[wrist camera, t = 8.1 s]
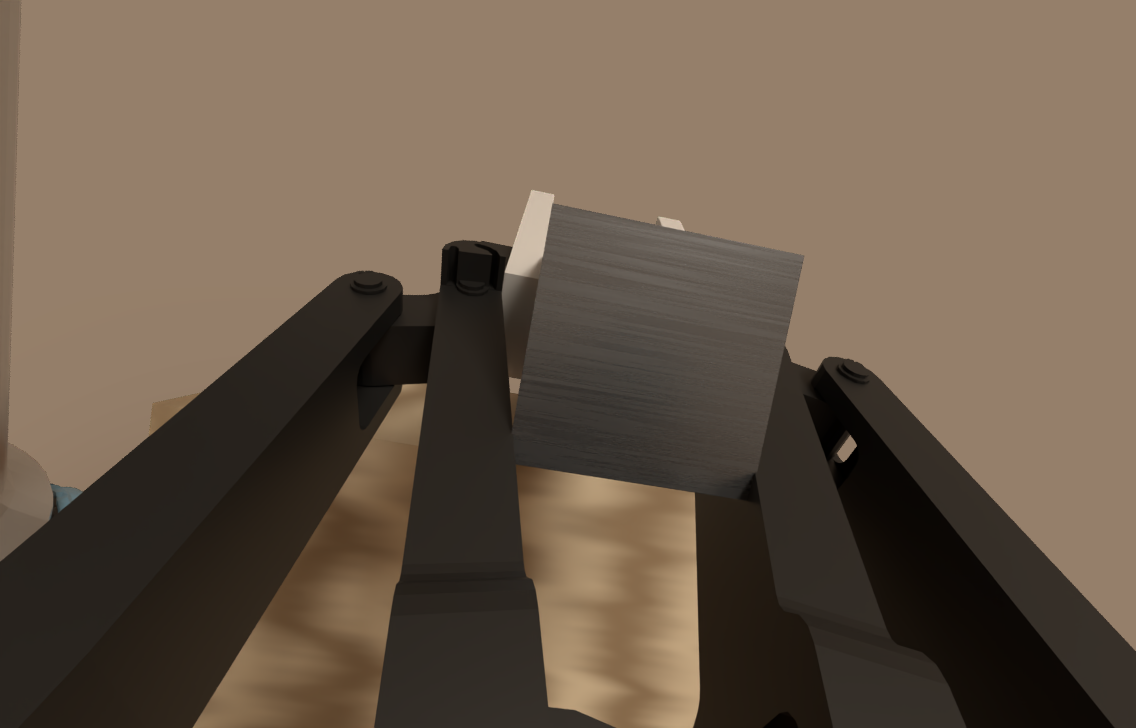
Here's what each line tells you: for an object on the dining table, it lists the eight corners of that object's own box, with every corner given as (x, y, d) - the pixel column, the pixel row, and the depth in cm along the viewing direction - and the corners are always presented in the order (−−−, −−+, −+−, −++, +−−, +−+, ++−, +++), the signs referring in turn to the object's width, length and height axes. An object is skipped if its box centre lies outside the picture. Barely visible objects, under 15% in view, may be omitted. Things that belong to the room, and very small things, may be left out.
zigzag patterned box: (74, 1058, 21) (152, 402, 19) (296, 702, 41) (347, 360, 39) (678, 1089, 24) (813, 509, 21) (613, 738, 44) (679, 418, 41)
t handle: (176, 410, 6) (226, 5, 6) (470, 336, 35) (481, 269, 35) (1019, 543, 7) (1107, 208, 7) (627, 364, 36) (640, 299, 36)
